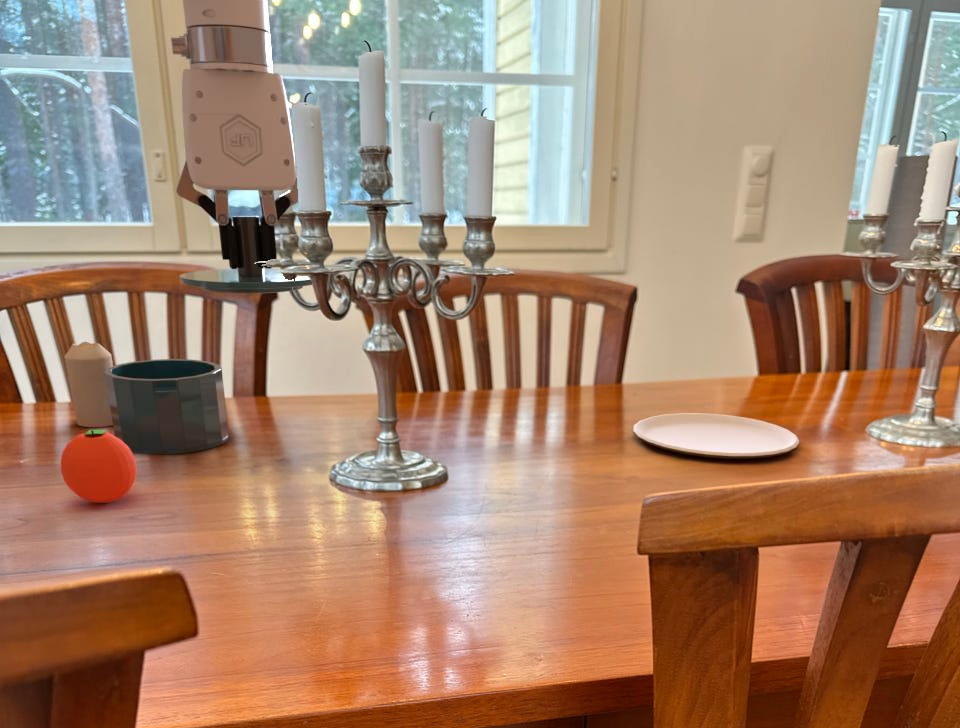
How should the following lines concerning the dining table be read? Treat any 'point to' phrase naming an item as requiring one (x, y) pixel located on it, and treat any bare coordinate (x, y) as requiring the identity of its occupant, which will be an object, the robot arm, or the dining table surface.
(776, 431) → the plate
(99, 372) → the candle
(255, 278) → the lid
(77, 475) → the clementine
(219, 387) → the pot
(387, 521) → the dining table surface
